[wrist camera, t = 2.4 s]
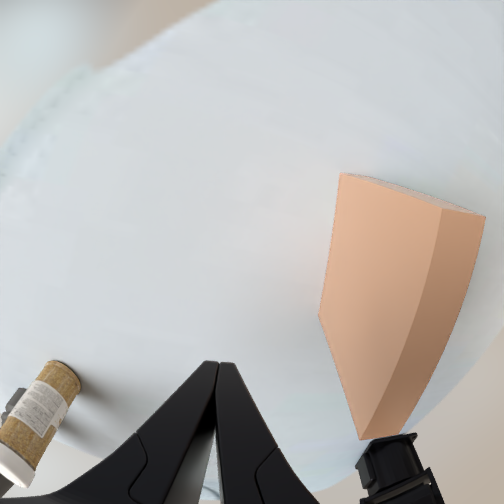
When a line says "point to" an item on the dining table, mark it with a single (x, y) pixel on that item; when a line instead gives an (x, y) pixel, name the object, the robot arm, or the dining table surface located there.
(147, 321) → the dining table surface
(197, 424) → the robot arm
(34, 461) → the sprinkles bottle
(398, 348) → the tile
